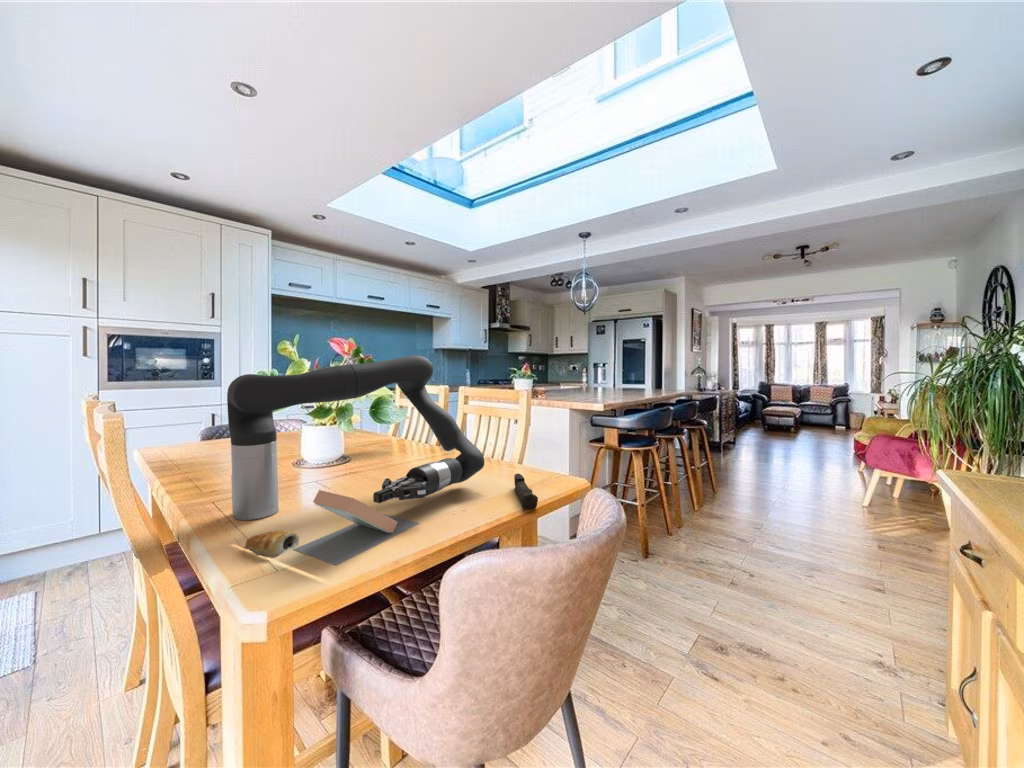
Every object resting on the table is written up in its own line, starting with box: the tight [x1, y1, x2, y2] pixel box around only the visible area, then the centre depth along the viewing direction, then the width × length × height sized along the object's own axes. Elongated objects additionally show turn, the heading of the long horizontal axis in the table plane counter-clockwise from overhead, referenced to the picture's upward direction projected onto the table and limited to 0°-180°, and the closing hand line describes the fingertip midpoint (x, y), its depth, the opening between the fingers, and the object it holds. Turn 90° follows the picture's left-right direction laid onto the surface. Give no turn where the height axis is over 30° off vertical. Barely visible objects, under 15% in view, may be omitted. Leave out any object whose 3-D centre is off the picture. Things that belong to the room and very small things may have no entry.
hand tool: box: [513, 473, 539, 511], centre depth 112 cm, size 19×4×5 cm, turn 7°
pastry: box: [245, 529, 300, 558], centre depth 81 cm, size 9×7×4 cm
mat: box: [292, 512, 421, 566], centre depth 86 cm, size 12×22×1 cm, turn 151°
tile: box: [312, 489, 397, 534], centre depth 85 cm, size 10×3×14 cm
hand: (375, 498), depth 89 cm, fingers closed
